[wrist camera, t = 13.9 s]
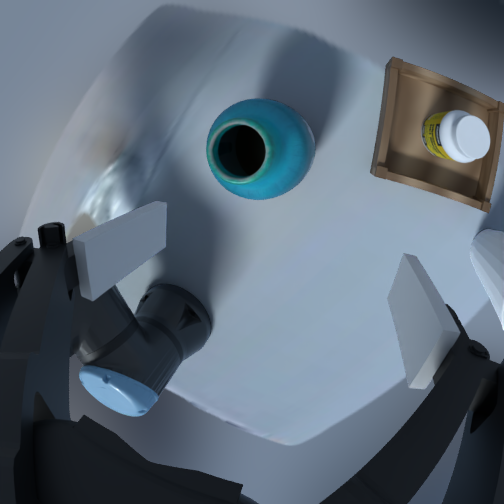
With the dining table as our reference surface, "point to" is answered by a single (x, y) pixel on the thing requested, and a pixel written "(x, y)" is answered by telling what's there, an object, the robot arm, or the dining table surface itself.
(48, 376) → the robot arm
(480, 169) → the crate
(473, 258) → the cup
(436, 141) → the pill bottle
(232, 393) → the dining table surface
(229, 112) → the vase
